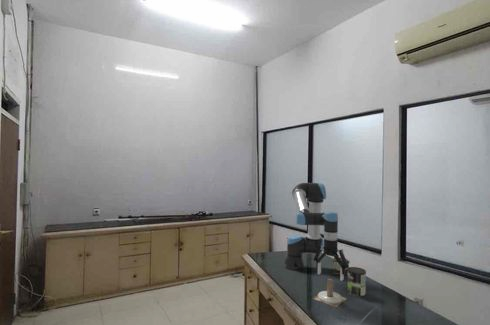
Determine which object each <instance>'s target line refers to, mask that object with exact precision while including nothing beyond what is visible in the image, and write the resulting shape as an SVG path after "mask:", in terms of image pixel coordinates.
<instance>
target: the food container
mask: <svg viewBox="0 0 490 325" xmlns="http://www.w3.org/2000/svg"><path fill="white" fill-rule="evenodd" d="M339 258H340V259H341V257H339ZM341 260H342V259H341ZM346 261H347V263H348V265H350V263H351V262H350V259H347V258H346ZM331 263H332V266H333V274H335V275H340V268H342V267H341V266H340V265H339V263H338V262H337V260H336V259H335V258H334V257H333V258H332V260H331ZM348 268H349V267H348ZM348 268H345V274H344V275H348Z"/></svg>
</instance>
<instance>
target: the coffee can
mask: <svg viewBox="0 0 490 325" xmlns="http://www.w3.org/2000/svg"><path fill="white" fill-rule="evenodd" d="M366 278H367V270H366V269H364V268H362V267H355V266H349V267H348V274H347V293H348V294H349V295H352V296H353V297H364V296H366V291H367V290H366V283H367V282H366V280H367V279H366Z"/></svg>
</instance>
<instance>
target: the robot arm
mask: <svg viewBox="0 0 490 325" xmlns="http://www.w3.org/2000/svg"><path fill="white" fill-rule="evenodd" d="M326 190H327V189H326V186H325V184H324V183H321V182H320V183H319V182H300V183H298V184H297V185H295V186H294V188H293V189H292V191H291V195H292V196H291V197H292V199H293V200H294V202H295V206H296V210H297V212H296V214H295V223H296V225H301V226H307V233H306V234H305V237H304V235H302V234H293V235H289V236H288V237H287V239H286V240H287V241H286V258H285V261H284V268H286V269H288V270H293V271H299V270H305V267H306V266H305V261H304V258H303V254H310V255H311V254H313V255H314V257H313V261H314V262H316V264H315V265H316V268H317V275H320V274H322V261H321V260H322V259H324V257H326V255H327V256H330V257H333V258H335V259H336V260H337V262H338V263H339V265H340V266H341V267H342V268H340V274H339V275H340V276H339V278H340V279H339V280H340V282H341V281H343V280H345V279H344V278H345V275H346V274H345V268H349V267H350V266H349V265H350V264H349V265H348V263H347V261H346V259H347V258H346V257H345V254H344V250H343V248H342V249H338V240H339V239H338V237H339V236H338V234H339V230H338V225H339V217H338V213H337V212H336V211H335V212H334V211H324V212H323V211H322V204H323V203H324V200H326V199H327V191H326ZM321 226H323V238H322V235H321V234H320V233H321V232H320V229H321ZM323 251H324V252H323ZM321 253H322V254H321ZM340 258H341V259H342V260H341V259H340Z"/></svg>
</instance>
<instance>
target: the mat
mask: <svg viewBox="0 0 490 325" xmlns="http://www.w3.org/2000/svg"><path fill="white" fill-rule="evenodd" d="M312 299H313V300H314V301H315V300H316V301H318V302H321V303H324V304H326V305H330V306H332V307H336V308H337V307H339V305H341V304H342V303H344V302H345V301H346V300H347V299H348V298H347V297H344V296H342V302H341V303H338V304H329V303H325V302H323V301H321V300H320V299H319V298H318V294H317V295H316V296H314V297H313V298H312Z"/></svg>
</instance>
